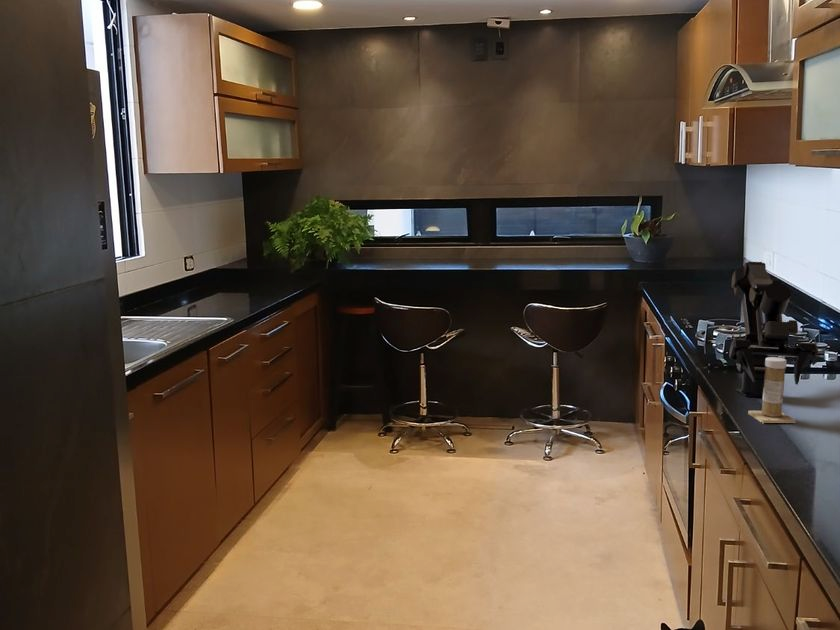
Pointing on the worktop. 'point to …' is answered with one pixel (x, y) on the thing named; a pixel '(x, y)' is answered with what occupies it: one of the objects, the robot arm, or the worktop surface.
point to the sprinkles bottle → (773, 386)
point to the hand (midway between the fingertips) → (775, 382)
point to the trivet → (771, 418)
